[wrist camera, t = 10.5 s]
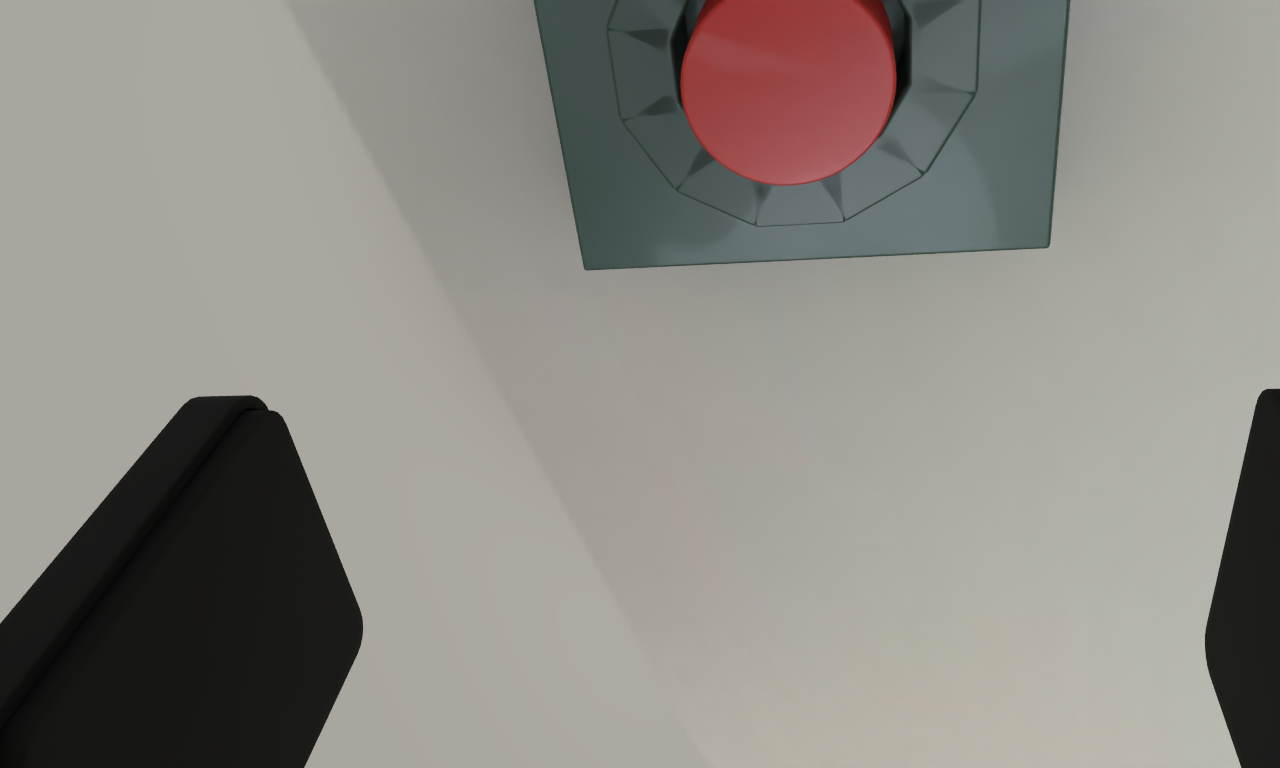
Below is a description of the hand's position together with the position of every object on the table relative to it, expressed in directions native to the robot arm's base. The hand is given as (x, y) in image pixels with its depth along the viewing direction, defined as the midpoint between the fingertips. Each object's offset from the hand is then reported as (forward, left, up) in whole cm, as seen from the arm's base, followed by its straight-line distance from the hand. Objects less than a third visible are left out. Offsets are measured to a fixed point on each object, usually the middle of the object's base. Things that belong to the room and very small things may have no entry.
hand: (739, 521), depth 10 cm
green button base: (0, 0, -16) cm, 16 cm away
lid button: (0, 0, -13) cm, 13 cm away
